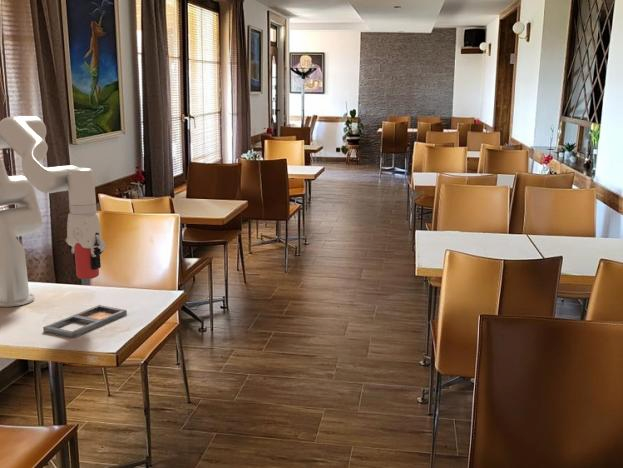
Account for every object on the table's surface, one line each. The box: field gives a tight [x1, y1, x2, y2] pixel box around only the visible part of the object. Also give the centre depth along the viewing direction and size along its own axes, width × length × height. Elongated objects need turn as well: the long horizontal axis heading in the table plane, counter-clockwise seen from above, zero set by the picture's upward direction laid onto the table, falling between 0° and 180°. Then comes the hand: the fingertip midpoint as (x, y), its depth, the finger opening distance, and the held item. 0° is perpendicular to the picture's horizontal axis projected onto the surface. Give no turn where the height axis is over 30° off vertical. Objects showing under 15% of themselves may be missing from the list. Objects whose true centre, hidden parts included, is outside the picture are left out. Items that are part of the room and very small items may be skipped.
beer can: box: [74, 243, 100, 280], centre depth 192 cm, size 7×7×12 cm
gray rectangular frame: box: [42, 304, 128, 339], centre depth 194 cm, size 12×23×2 cm, turn 154°
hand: (87, 266), depth 193 cm, fingers closed on beer can, 6 cm apart
